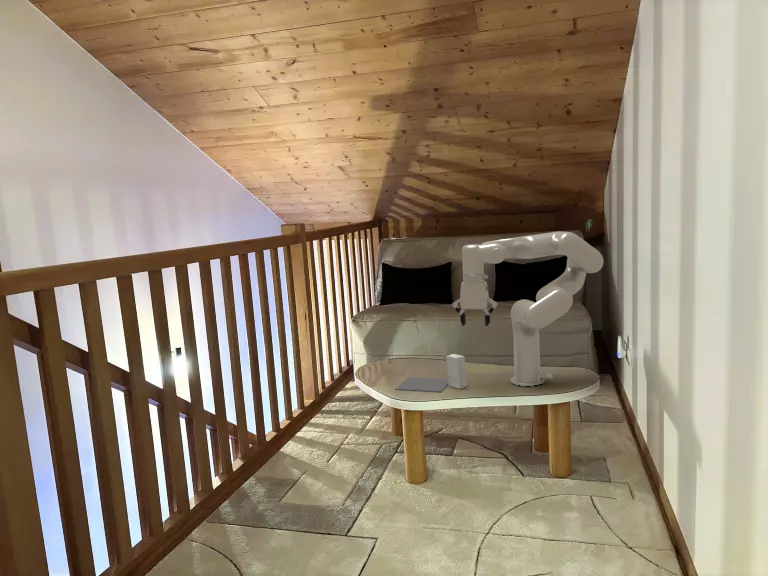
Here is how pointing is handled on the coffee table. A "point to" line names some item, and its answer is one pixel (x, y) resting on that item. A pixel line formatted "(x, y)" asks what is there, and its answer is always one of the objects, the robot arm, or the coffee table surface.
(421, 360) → the coffee table surface
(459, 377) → the skincare box
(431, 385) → the mat
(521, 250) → the robot arm
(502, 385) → the coffee table surface
